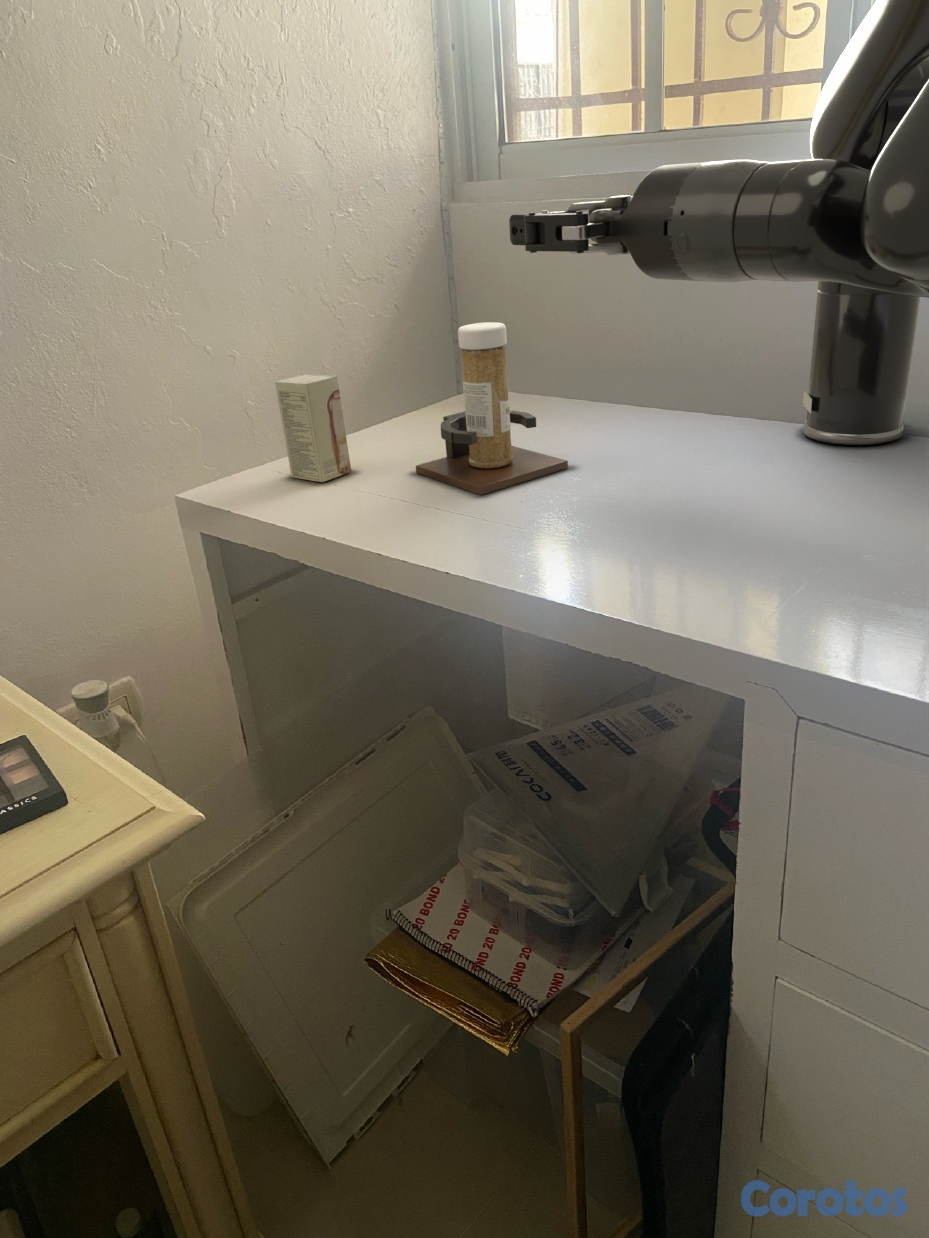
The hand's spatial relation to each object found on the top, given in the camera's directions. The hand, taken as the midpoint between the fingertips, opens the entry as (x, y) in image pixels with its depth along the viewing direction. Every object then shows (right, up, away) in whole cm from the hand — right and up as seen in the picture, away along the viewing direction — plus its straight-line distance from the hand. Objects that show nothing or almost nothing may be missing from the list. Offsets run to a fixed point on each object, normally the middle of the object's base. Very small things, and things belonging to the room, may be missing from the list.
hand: (553, 224), depth 74 cm
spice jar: (-5, -17, +17) cm, 25 cm away
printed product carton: (-22, -17, +21) cm, 35 cm away
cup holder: (-5, -17, +18) cm, 25 cm away
